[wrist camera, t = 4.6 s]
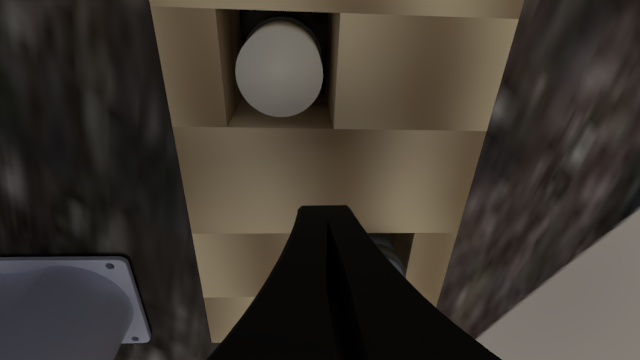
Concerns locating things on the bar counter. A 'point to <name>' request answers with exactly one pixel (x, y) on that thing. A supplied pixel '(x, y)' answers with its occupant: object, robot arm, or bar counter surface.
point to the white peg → (280, 67)
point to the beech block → (332, 133)
